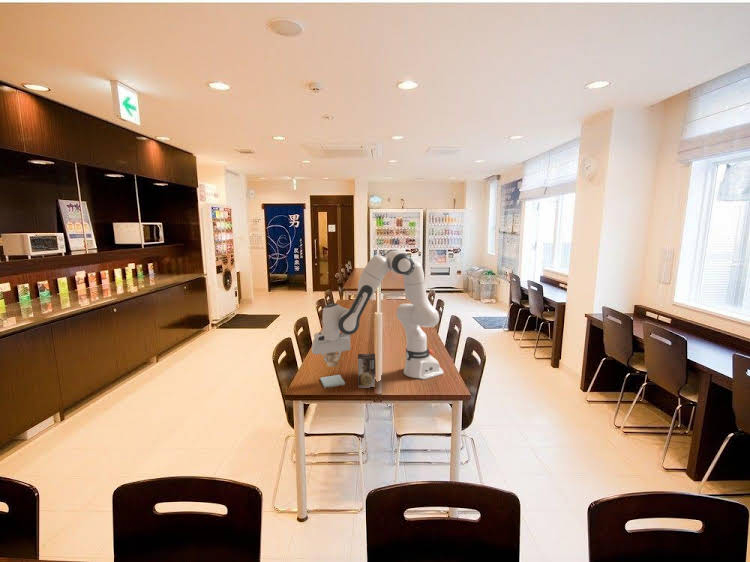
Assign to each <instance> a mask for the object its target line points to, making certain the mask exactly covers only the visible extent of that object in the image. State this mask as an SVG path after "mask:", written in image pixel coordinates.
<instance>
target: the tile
mask: <svg viewBox="0 0 750 562" xmlns="http://www.w3.org/2000/svg"><path fill="white" fill-rule="evenodd" d="M319 381H320V382H321V384H322V386H323V388H324V389H326V388H327V387H328V388H333V387H338V386H340V385H341V386H346V382H345V380H344V378H342V376H341V374H335V375H330V376H329V375H328V376H324V377H319Z"/></svg>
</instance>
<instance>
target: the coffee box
mask: <svg viewBox="0 0 750 562" xmlns="http://www.w3.org/2000/svg"><path fill="white" fill-rule="evenodd" d="M376 367H377V366H376V353H358V354H357V368H358V369H357V372H358V373H357V375H358V376H357V377H358V378H357V379H358V389H367V388H368V389H371V388H370V387H374V385H375V377H377V375H376V374H377V373H376V370H377V369H376Z"/></svg>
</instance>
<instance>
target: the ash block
mask: <svg viewBox="0 0 750 562" xmlns="http://www.w3.org/2000/svg"><path fill="white" fill-rule="evenodd" d="M337 355H338V353H337V352H332V353H325V357H327V361H325V364H326V366H327V367H328V368H331V367H338V364H339V363H338V358H337Z"/></svg>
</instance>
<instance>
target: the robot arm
mask: <svg viewBox="0 0 750 562" xmlns="http://www.w3.org/2000/svg"><path fill="white" fill-rule="evenodd" d="M390 271H392V272H395V273H396V274H399V275H403V286H404V294H405V298H406V299H407V300H408V301H409V302H411V303H401V304H400V305H399V306H398V307H397V309H396V317H397V319H398V320H399V322H400V323H401V324H402V326H403V328H404V330H405V335H406V348H405V365H404V369H403V374H404V375H405V376H407V377H409V378H412V379H419V380H427V379H431V378H435V377H438V376H442V375H444V374H445V373H444V369H442V367H440V363H439V361H438V359H436V358H434V357H433V356H432V354H433V353H434V351H433V350H432V349H429V348H427V346H428V338H427V334H426V333H425V332H424V330H423V329H422V328H421V327H423V328H434V327H436V326H437V325H438V324H439V321H440V314H439V313H440V312H439V311H438V310H437V309H436V308H435V307H434V306H433V305H432V304H431V301H430V300H429V297H428V294H427V290H426V281H425V279H426V278H425V273H424V269H423V266H422V263H421V262H420V261H417V260H413V259H412V258H411V256H410V255H409V254H407V253H405V252H403V251H401V250H398V249H391V250H388V251H387V252H385V253H384V254H382V255H381V254H375V255H373V256H372V258H370V259H369V261H368V262H367V264H366V265H365V267H364V268H363V270H362V272H361V274H360V276H359V279H358V282H357V294H356V297H355V299H354V300H353V303H352V304H351V306H350V308H346V307H344V306H341V305H340V304H338V303H333V302H332V303H328V304H326V305H324V307H323V309H322V321H321V322H322V325H323V326H322V330H321V331H319V332H316V333H314V334H313V338H314V339H313V340H312V344H311V352H312V354H313V355H315V356H316V355H322V357H323V361H324V362H326V361H327V357H326V353H332V352H336V353H337V358H338V360H340V356H341V355H342V352H348V351H350V350H351V348H352V347H351V346H352V345H351V339H352V338H351V337H352V336H351V335H353V334H355V333H357V331H358V329H359V328H360V320H361V319H360V318H361V316H362V314H363V313H364V311H365V309H366V306H367V305H368V303H369V301H370V299H371V298H372V297H373V296H374V293H375V292H376V291H377V289H378V288H379V287H380V285H381V284H382V281H383V280H384V278H385V276H386V275H387V274H388V273H389V272H390Z"/></svg>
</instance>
